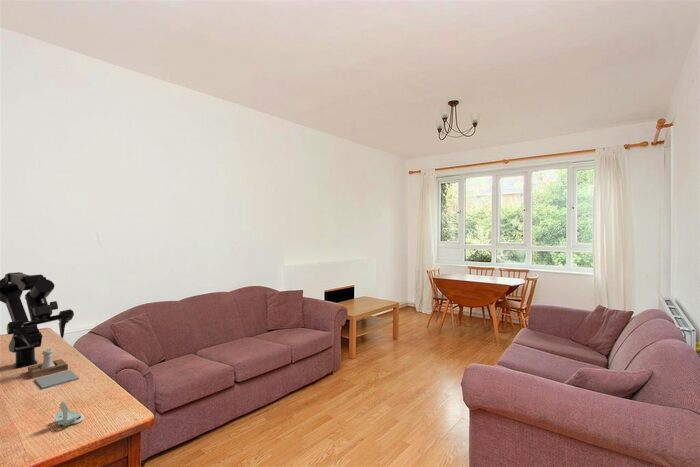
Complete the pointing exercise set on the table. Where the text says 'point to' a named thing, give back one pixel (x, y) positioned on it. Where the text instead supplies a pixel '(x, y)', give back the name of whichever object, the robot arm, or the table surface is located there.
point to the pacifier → (67, 415)
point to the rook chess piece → (47, 359)
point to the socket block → (37, 371)
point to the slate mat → (56, 379)
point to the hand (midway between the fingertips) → (46, 342)
